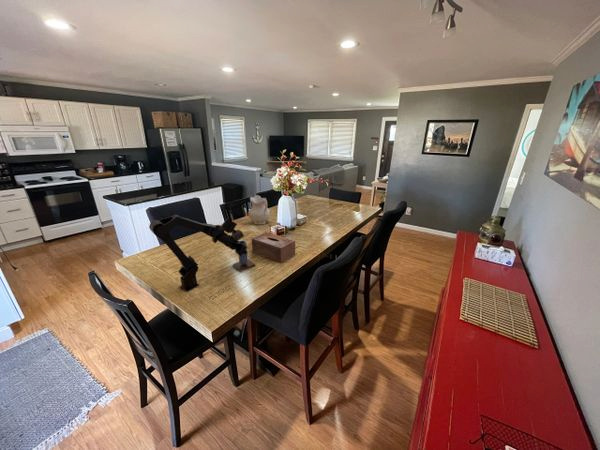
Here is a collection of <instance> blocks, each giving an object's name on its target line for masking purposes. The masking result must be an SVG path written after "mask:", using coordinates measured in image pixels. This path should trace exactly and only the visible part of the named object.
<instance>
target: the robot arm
mask: <svg viewBox="0 0 600 450" xmlns="http://www.w3.org/2000/svg"><path fill="white" fill-rule="evenodd" d="M237 225H238V224H237V223H236V222H235V221H233V220H231V219H229V218H228V217H225V220H224V221H223V222H222V224H221V225H220V224H212V223H206V222H205V223H202V222H199V221H196V220H193V219H189V218H186V217H183V216H180V215H178V214H173V215H171V216H169V217H165V218H160V219H158V220H157V219H155V220H152V221H151V222H150V223H149V225H148V229H149V230H150V231H151V232H152V233H153V235H154V236H156V237H157V238H159V239H160V240H161V241H162V242H163V243H164V244H165V245H166V246H167V247H168V249H169V250H170V251H171V252H172V253H173V254H174V256H175V257H176V259H177V260H178V261H179V263H180V265H181V267H180V269H179V270H178V273H179V275H180V276H181V277H180V284H181V285H180V286H179V287H180V289H183V290H184V291H186V292H189V291H191V290H193V289H194V288H197V287H198V286H199V283H198V281H197V276H196V275H197V273H198V270H199V264H198V262H196V260H195V258H193V257H192V256H191V255H188V256H187V255H186V254H185V252H184V251H183V250H182V248H180V246H179V245H178V243H176V241H175V240H174V239H173V237H172V235H171V233H170V231H172V230H174V228H175V227H178V226H181V227H184V228H188V229H191V230H195V231H198V232H201V233H203V234H205V235H207V236H209V237H210V238H211V241H212V242H213V243H214V244H216V243H217V242H219V243H220V244H222V245H224V246H225V247H227V248H229V249H230V250H232V251H233V250H234V252H235V254H237V255H238V256H239V255H240V256H241V255H242V254H247V255H248V250H247V251H246V248H247V249H248V246H247V244H246V245H244V244H243V243H240V244H238V242H239V241H240V240H241V239H242V238H244V237H245V235H244V233H243V231H242V230H240V229H236V227H237Z"/></svg>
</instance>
